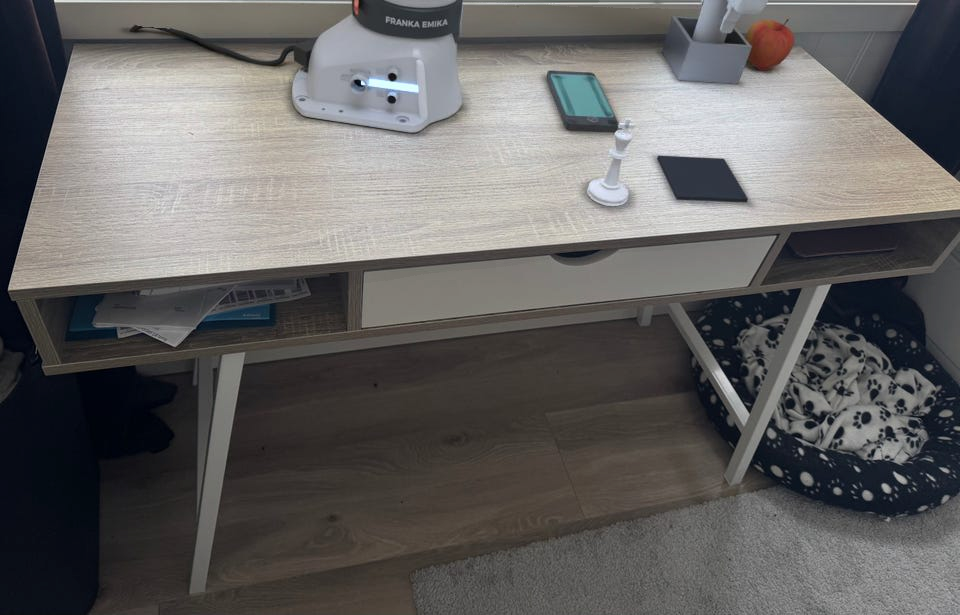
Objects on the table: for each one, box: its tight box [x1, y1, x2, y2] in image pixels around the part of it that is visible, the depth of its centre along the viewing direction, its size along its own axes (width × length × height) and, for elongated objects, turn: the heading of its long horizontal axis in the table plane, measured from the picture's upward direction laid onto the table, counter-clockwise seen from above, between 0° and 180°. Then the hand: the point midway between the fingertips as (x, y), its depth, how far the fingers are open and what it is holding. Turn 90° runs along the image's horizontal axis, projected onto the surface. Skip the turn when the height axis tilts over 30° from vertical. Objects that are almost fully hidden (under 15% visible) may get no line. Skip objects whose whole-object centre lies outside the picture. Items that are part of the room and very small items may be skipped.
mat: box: [656, 155, 749, 203], centre depth 92 cm, size 9×9×1 cm
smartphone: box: [545, 70, 620, 133], centre depth 103 cm, size 7×1×15 cm
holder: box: [661, 15, 752, 85], centre depth 114 cm, size 10×10×6 cm
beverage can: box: [692, 0, 728, 43], centre depth 112 cm, size 5×5×12 cm
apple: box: [744, 18, 795, 71], centre depth 116 cm, size 7×7×8 cm
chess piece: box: [586, 117, 635, 207], centre depth 84 cm, size 5×5×10 cm
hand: (715, 19), depth 111 cm, fingers open, 7 cm apart
